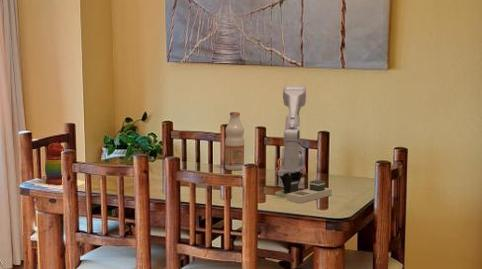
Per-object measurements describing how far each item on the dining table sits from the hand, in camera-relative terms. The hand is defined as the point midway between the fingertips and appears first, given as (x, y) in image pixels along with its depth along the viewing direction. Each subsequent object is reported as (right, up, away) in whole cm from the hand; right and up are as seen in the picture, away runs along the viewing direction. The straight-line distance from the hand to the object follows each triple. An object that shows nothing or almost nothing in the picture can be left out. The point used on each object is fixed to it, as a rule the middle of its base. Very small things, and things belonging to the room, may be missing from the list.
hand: (290, 190), depth 284 cm
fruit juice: (-24, +6, +58) cm, 63 cm away
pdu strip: (+7, -3, -5) cm, 9 cm away
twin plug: (+11, -2, -2) cm, 11 cm away
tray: (0, -2, 0) cm, 2 cm away
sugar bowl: (+3, +3, +42) cm, 42 cm away
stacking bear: (-102, +2, +23) cm, 105 cm away
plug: (0, -2, 0) cm, 2 cm away
